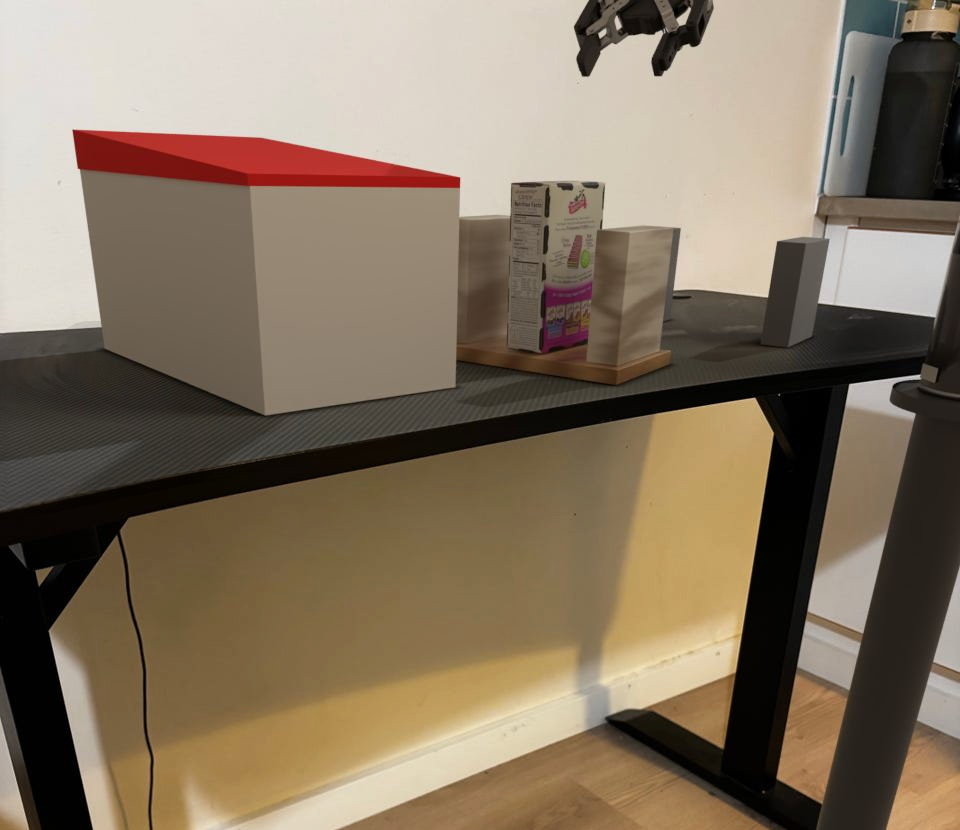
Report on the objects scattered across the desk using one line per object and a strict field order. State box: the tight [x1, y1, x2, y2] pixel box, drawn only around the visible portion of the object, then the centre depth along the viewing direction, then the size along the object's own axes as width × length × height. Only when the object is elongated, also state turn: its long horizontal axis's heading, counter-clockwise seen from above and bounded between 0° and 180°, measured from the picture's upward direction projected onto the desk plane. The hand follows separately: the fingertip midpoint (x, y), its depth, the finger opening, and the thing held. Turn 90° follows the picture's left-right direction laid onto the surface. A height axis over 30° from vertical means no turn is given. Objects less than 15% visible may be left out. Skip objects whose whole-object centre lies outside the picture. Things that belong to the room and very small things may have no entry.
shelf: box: [456, 214, 674, 386], centre depth 103 cm, size 23×14×14 cm, turn 58°
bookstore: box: [71, 129, 461, 416], centre depth 93 cm, size 21×35×21 cm, turn 41°
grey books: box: [658, 225, 830, 349], centre depth 126 cm, size 24×11×12 cm, turn 58°
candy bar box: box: [507, 180, 606, 354], centre depth 102 cm, size 11×5×16 cm, turn 143°
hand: (618, 69), depth 102 cm, fingers open, 8 cm apart
